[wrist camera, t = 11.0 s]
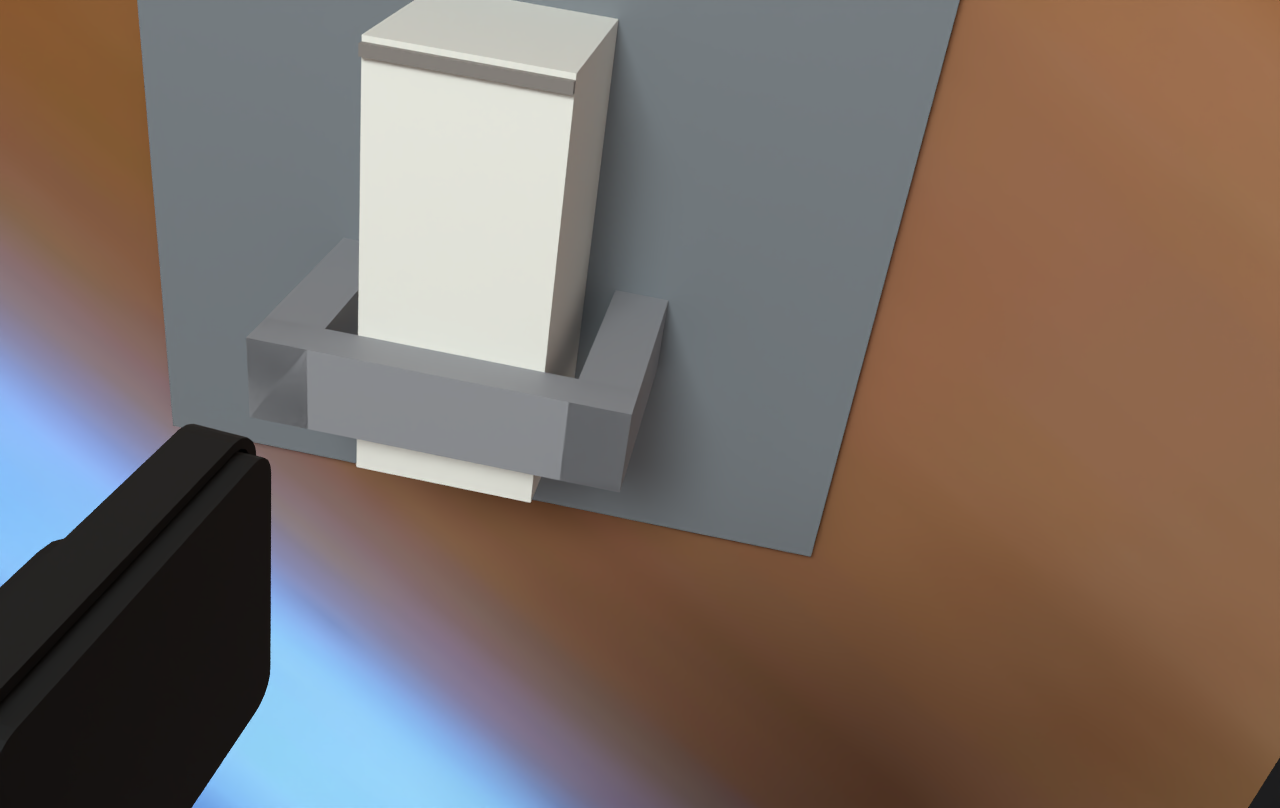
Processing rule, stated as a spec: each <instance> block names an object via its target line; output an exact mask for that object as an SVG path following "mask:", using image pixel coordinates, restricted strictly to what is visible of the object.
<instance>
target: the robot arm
mask: <svg viewBox="0 0 1280 808" xmlns="http://www.w3.org/2000/svg"><path fill="white" fill-rule="evenodd" d="M270 634H271V467H270V464H269V461H268V460H267V459H265V458H263V457H259V456H256V449H255V446H254V444H253V441H252V440H251V439H249V438H248V437H244V436H240V435H236V434H232V433H228V432H224V431H220V430H216V429H213V428H209V427H205V426H201V425H197V424H186V425H185V426H184V427H182V428H181V429H179V430H178V431H177V432H176V433H175V434H174V435H173V436H172V437H171V438H170V439H169V440H168V441H166V442H165V443H164V444H163V445H162V446H161V447H160V448H159V449H158V450H157V451H156V452H155V453H154V454H153V455H152V456H151V457H150V458H149V459H148V460H146V461H145V462H144V463H143V464H142V465H141V466H140V467H139V468H138V469H137V470H136V471H135V472H134V473H133V474H132V475H131V476H130V477H129V478H128V479H126V480H125V481H124V482H123V483H122V484H121V485H120V486H119V487H118V488H117V489H116V490H115V491H114V492H113V493H112V494H111V495H110V496H109V497H107V498H106V499H105V500H104V501H103V502H102V503H101V504H100V505H99V506H98V507H97V508H96V509H95V510H94V511H93V512H92V513H91V514H90V515H89V516H87V517H86V518H85V519H84V520H83V521H82V522H81V523H80V524H79V525H78V526H77V527H76V528H75V529H74V530H73V531H72V532H71V533H70V534H69V535H67V536H66V537H65V538H64V539H61V540H57V541H53V542H51V543H50V544H48V545H47V546H46V547H44V548H43V549H42V550H40V551H39V552H37V553H36V554H35V555H34V556H33V557H32V558H31V559H30V560H29V561H28V562H27V563H26V564H25V565H24V566H23V567H21V568H20V569H19V570H18V571H17V572H16V573H15V574H14V575H13V576H12V577H11V578H10V579H9V580H8V581H7V582H5V583H4V584H3V585H2V586H1V587H0V808H192V806H193V805H194V803H195V802H196V800H197V799H198V797H199V796H200V794H201V793H202V791H203V790H204V788H205V787H206V785H207V784H208V782H209V781H210V779H211V778H212V776H213V775H214V773H215V772H216V770H217V769H218V767H219V766H220V764H221V763H222V761H223V760H224V758H225V757H226V755H227V754H228V752H229V751H230V749H231V748H232V746H233V745H234V744H235V742H236V741H237V739H238V738H239V736H240V735H241V733H242V732H243V730H244V729H245V727H246V726H247V724H248V723H249V721H250V720H251V718H252V717H253V715H254V714H255V712H256V711H257V709H258V707H259V705H260V704H261V701H262V699H263V697H264V695H265V692H266V688H267V685H268V681H269V677H270ZM1248 808H1280V758H1279V760H1278V761H1277V763H1276V765H1275V766H1274V768H1273V769H1272V771H1271V772H1270V774H1269V776H1268V777H1267V779H1266V780H1265V782H1264V784H1263V785H1262V787H1261V788H1260V790H1259V791H1258V793H1257V795H1256V796H1255V798H1254V799H1253V801H1252V803H1251V804H1250V806H1249V807H1248Z"/></svg>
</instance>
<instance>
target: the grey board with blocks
mask: <svg viewBox="0 0 1280 808" xmlns="http://www.w3.org/2000/svg"><path fill="white" fill-rule="evenodd" d="M137 1H138V13H139V25H140V37H141V49H142V61H143V73H144V84H145V96H146V108H147V120H148V132H149V144H150V156H151V168H152V180H153V191H154V203H155V215H156V227H157V239H158V251H159V263H160V275H161V287H162V298H163V310H164V322H165V334H166V346H167V358H168V370H169V382H170V394H171V405H172V417H173V426H178V427H184V426H185V425H186V424H197V425H201V426H205V427H209V428H213V429H216V430H220V431H224V432H228V433H232V434H236V435H240V436H244V437H248V438H249V439H251V440H252V441H253V442H255V443H260V444H265V445H270V446H275V447H280V448H285V449H289V450H294V451H299V452H304V453H309V454H314V455H319V456H323V457H328V458H333V459H338V460H343V461H348V462H353V463H356V467H360V468H365V469H369V470H374V471H379V472H384V473H389V474H394V475H399V476H403V477H408V478H413V479H418V480H423V481H428V482H433V483H437V484H442V485H447V486H452V487H457V488H462V489H467V490H471V491H476V492H481V493H486V494H491V495H496V496H501V497H505V498H510V499H515V500H520V501H525V502H530V503H531V500H532V499H533V500H538V501H542V502H547V503H552V504H557V505H562V506H567V507H572V508H576V509H581V510H586V511H591V512H596V513H601V514H606V515H611V516H615V517H620V518H625V519H630V520H635V521H640V522H645V523H649V524H654V525H659V526H664V527H669V528H674V529H679V530H684V531H688V532H693V533H698V534H703V535H708V536H713V537H718V538H722V539H727V540H732V541H737V542H742V543H747V544H752V545H756V546H761V547H766V548H771V549H776V550H781V551H786V552H791V553H795V554H800V555H805V556H810V557H811V554H812V550H813V546H814V543H815V539H816V535H817V531H818V528H819V524H820V520H821V517H822V513H823V509H824V505H825V502H826V498H827V494H828V490H829V487H830V483H831V479H832V475H833V472H834V468H835V464H836V460H837V457H838V453H839V449H840V446H841V442H842V438H843V434H844V431H845V427H846V423H847V419H848V416H849V412H850V408H851V404H852V401H853V397H854V393H855V389H856V386H857V382H858V378H859V375H860V371H861V367H862V363H863V360H864V356H865V352H866V348H867V345H868V341H869V337H870V333H871V330H872V326H873V322H874V319H875V315H876V311H877V307H878V304H879V300H880V296H881V292H882V289H883V285H884V281H885V277H886V274H887V270H888V266H889V262H890V259H891V255H892V251H893V248H894V244H895V240H896V236H897V233H898V229H899V225H900V221H901V218H902V214H903V210H904V206H905V203H906V199H907V195H908V191H909V188H910V184H911V180H912V177H913V173H914V169H915V165H916V162H917V158H918V154H919V150H920V147H921V143H922V139H923V135H924V132H925V128H926V124H927V121H928V117H929V113H930V109H931V106H932V102H933V98H934V94H935V91H936V87H937V83H938V79H939V76H940V72H941V68H942V64H943V61H944V57H945V53H946V50H947V46H948V42H949V38H950V35H951V31H952V27H953V23H954V20H955V16H956V12H957V8H958V5H959V1H960V0H137Z"/></svg>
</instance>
